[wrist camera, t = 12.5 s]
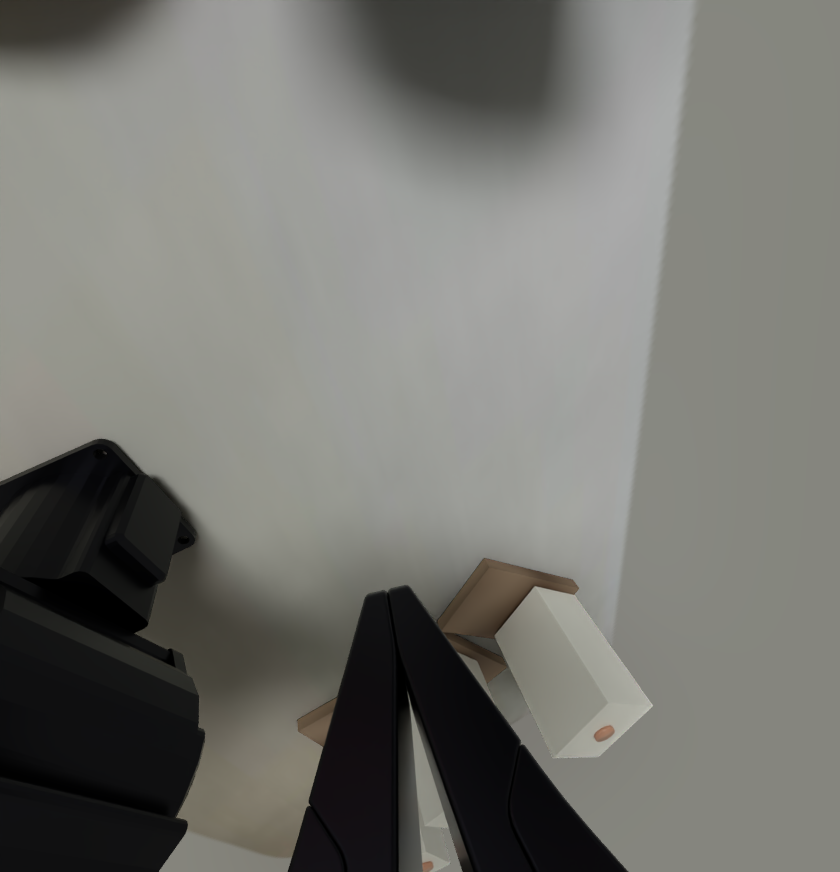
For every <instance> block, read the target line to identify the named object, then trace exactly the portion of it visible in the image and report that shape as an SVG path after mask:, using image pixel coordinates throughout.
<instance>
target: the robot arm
mask: <svg viewBox="0 0 840 872" xmlns="http://www.w3.org/2000/svg"><path fill="white" fill-rule="evenodd" d="M96 449H102V450H104V451H106V452H107V454H100V453H98V452H97V451H96ZM181 514H182V512H181V511H180V510H179V508H178V507H177V506H176V505H175V504H174V503H173V502H172V501H171V500H170V499H169V498H168V497H167V496H166V494H165V493H164V492H163V491H162V490H161V489H160V488H159V487H158V486H157V485H156V484H155V483H154V481H153V480H152V479H151V478H150V477H149V476H148V475H145V474H143V473H141V472H140V471H139V470H138V469H137V468H136V467H135V466H134V464H133V463H132V462H131V461H130V460H129V459H128V458H127V457H126V456H125V455H124V454H123V453H122V452H121V451H120V449H119V448H118V447H117V446H116V445H115V444H114V443H112V442H111V441H109V440H106V439H97V440H93V441H91V442H89V443H87V444H84V445H82V446H80V447H78V448H75V449H73V450H71V451H69V452H66V453H64V454H62V455H60V456H57V457H55V458H53V459H51V460H48V461H46V462H44V463H42V464H39V465H37V466H35V467H33V468H30V469H28V470H26V471H24V472H21V473H19V474H17V475H15V476H12V477H10V478H8V479H6V480H3V481H1V482H0V872H159V870H160V869H161V867H162V866H163V864H164V863H165V862H166V860H167V859H168V857H169V856H170V855H171V853H172V852H173V851H174V849H175V848H176V846H177V845H178V844H179V842H180V841H181V839H182V838H183V836H184V835H185V833H186V831H187V826H188V823H187V821H186V820H184V819H179V818H176V816H177V815H178V813H179V811H180V809H181V807H182V805H183V803H184V801H185V799H186V797H187V795H188V792H189V790H190V787H191V785H192V782H193V780H194V777H195V774H196V771H197V769H198V766H199V763H200V759H201V755H202V751H203V747H204V743H205V732H204V729H201V728H199V727H198V724H199V695H198V692H197V690H196V687H195V684H194V682H193V679H192V678H191V677H190V676H188V675H187V672H186V667H185V663H184V658H183V655H182V654H181V653H179V652H177V651H175V650H173V649H168V650H166V649H164V648H162V647H160V646H158V645H156V644H154V643H152V642H150V641H148V640H146V639H144V638H142V637H140V636H138V635H136V634H134V633H135V632H138V631H140V630H142V629H144V628H145V627H147V626H148V622H149V618H150V614H151V610H152V606H153V602H154V598H155V595H156V591H157V587H158V584H160V583H162V582H164V581H165V579H166V577H167V573H168V569H169V565H170V560H171V556H172V555H173V554H175V553H177V552H179V551H182V550H184V549H186V548H188V547H190V546H192V545H193V544H194V542H195V539H196V532H195V530H194V529H193V528H192V527H191V526H190V525H189V524H188V522H187V521H186V520H185V519H184V518H183V517H182V516H181ZM181 536H187V537H188V538H181ZM408 695H409V697H408ZM409 699H410V703H411V707H412V711H413V714H414V718H415V721H416V724H417V728H418V731H419V734H420V737H421V740H422V744H423V747H424V750H425V753H426V756H427V760H428V763H429V766H430V769H431V772H432V776H433V779H434V782H435V785H436V788H437V792H438V795H439V798H440V801H441V804H442V808H443V811H444V814H445V817H446V820H447V824H448V827H449V830H450V833H451V836H452V840H453V843H454V846H455V849H456V853H457V855H458V859H459V862H460V865H461V869H462V871H463V872H628V871H627V870H626V869H625V868H624V866H623V865H622V864H621V863H620V862H619V861H618V860H617V859H616V857H615V856H614V855H613V854H612V853H611V852H610V851H609V850H608V849H607V847H606V846H605V845H604V844H603V843H602V842H601V841H600V840H599V838H598V837H597V836H596V835H595V834H594V833H593V832H592V830H591V829H590V828H589V827H588V826H587V825H586V823H585V822H584V821H583V820H582V819H581V818H580V816H579V815H578V814H577V813H576V812H575V810H574V809H573V808H572V807H571V806H570V804H569V803H568V802H567V801H566V800H565V798H564V797H563V796H562V795H561V793H560V792H559V791H558V789H557V788H556V787H555V786H554V784H553V783H552V781H551V780H550V779H549V778H548V776H547V775H546V774H545V772H544V771H543V770H542V768H541V767H540V766H539V764H538V763H537V762H536V760H535V759H534V758H533V756H532V755H531V753H530V752H529V751H528V749H527V748H526V747H525V745H521V740H520V739H519V737H518V736H517V734H516V733H515V732H514V730H513V729H512V728H511V726H510V725H509V723H508V722H507V721H506V719H505V718H504V716H503V715H502V714H501V712H500V711H499V709H498V708H497V707H496V705H495V704H494V703H493V701H492V700H491V698H490V697H489V696H488V694H487V693H486V691H485V690H484V689H483V687H482V686H481V685H480V683H479V682H478V680H477V679H476V678H475V676H474V675H473V673H472V672H471V671H470V669H469V668H468V667H467V665H466V664H465V662H464V661H463V660H462V658H461V657H460V655H459V654H458V653H457V651H456V650H455V648H454V647H453V646H452V644H451V643H450V642H449V640H448V639H447V637H446V636H445V635H444V633H443V632H442V630H441V629H440V628H439V626H438V625H437V624H436V622H435V621H434V619H433V618H432V617H431V615H430V614H429V612H428V611H427V610H426V608H425V607H424V606H423V604H422V603H421V601H420V600H419V599H418V597H417V596H416V594H415V593H414V592H413V590H412V589H411V588H410V587H409V586H408V585H403V586H399V587H395V588H391V589H389V591H388V593H387V591H385V590H382V591H378V592H374V593H370V594H368V595H366V597H365V599H364V602H363V606H362V610H361V613H360V617H359V620H358V624H357V628H356V631H355V635H354V639H353V642H352V646H351V649H350V653H349V657H348V660H347V664H346V667H345V671H344V675H343V678H342V682H341V685H340V689H339V693H338V696H337V700H336V704H335V707H334V711H333V714H332V718H331V722H330V725H329V729H328V732H327V736H326V740H325V743H324V747H323V750H322V754H321V758H320V761H319V765H318V769H317V772H316V776H315V779H314V783H313V787H312V790H311V794H310V797H309V804H310V805H311V806H308V807H307V808H306V811H305V815H304V818H303V822H302V825H301V829H300V833H299V836H298V840H297V843H296V846H295V850H294V853H293V856H292V859H291V863H290V866H289V869H288V872H423V865H422V852H421V839H420V826H419V813H418V800H417V787H416V774H415V761H414V748H413V734H412V721H411V711H410V703H409Z"/></svg>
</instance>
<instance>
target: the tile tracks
mask: <svg viewBox="0 0 840 872" xmlns="http://www.w3.org/2000/svg"><path fill="white" fill-rule="evenodd" d="M535 586H536V587H541V588H545V589H549V590H554V591H558V592H563V593H567V594H572V595H574V594H575V593H576V592H577V591H578V589H579V587H578V586H577V585H576V583H575V582H574V581H573V580H571V579H567V578H563V577H559V576H555V575H551V574H547V573H543V572H539V571H535V570H531V569H526V568H522V567H518V566H514V565H510V564H506V563H502V562H498V561H494V560H490V559H486V558H484V559H483V560H482V562H481V563H480V564H479V566H478V567H477V569H476V570H475V571H474V573H473V574H472V575H471V577H470V578H469V579H468V581H467V582H466V583H465V585H464V586H463V587H462V589H461V590H460V591H459V593H458V594H457V595H456V597H455V598H454V600H453V601H452V602H451V604H450V605H449V606H448V608H447V609H446V610H445V612H444V613H443V614H442V616H441V617H440V618H439V620H438V621H437V623H438V625H439V628H440V629H441V630H442V632H443V633H444V635H445V636H446V637H447V639H448V640H449V642H450V643H451V644H452V646H453V647H454V648H455V650H456V651H457V652H458V653H460V654H463V655H465V656H467V657H469V658H471V659H473V660H476V661H477V662H478V664H479V667H480V669H481V671H482V674H483V676H484V679H485V681H486V683H488V682H489V681H491V680H492V679H493V678H494V677H496V676H497V675H498V674H499V673H501V672H502V671H503V670H504V669H506V668H507V666H506V663H505V661H504V659H503V658H502V657H500V656H498V655H496V654H494V653H492V652H490V651H488V650H486V649H484V648H482V647H480V646H478V645H476V644H474V643H472V642H470V641H468V640H466V639H464V638H462V637H460V636H458V635H456V634H462V635H470V636H477V637H484V638H491V639H495V634H496V633H497V632H498V631H499V630H500V628H501V627H502V626H503V625H504V623H505V622H506V621H507V620H508V619H509V617H510V616H511V615H512V614H513V612H514V611H515V610H516V609H517V607H518V606H519V605H520V604H521V603H522V601H523V600H524V599H525V598H526V596H527V595H528V594H529V593H530V592H531V590H532V589H533V588H534V587H535ZM454 633H455V634H454ZM336 700H337V698H335V699H333V700H331V701H330V702H328V703H326V704H324V705H323V706H321V707H319V708H317V709H316V710H314V711H312V712H310V713H308V714H307V715H305V716H303V717H301V718H300V719H298V720H297V721H298V732H300V733H302V734H303V735H305V736H307V737H308V738H310V739H311V740H313V741H315V742H316V743H318V744H320V745H321V746H323V747H324V743H325V740H326V736H327V732H328V729H329V725H330V722H331V718H332V714H333V711H334V707H335V704H336Z"/></svg>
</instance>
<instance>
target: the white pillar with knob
mask: <svg viewBox="0 0 840 872" xmlns="http://www.w3.org/2000/svg"><path fill="white" fill-rule="evenodd" d="M495 639H496V641H497V643H498V645H499V647H500V649H501V651H502V653H503V655H504V657H505V659H506V661H507V664H508V666H509V668H510V670H511V672H512V674H513V676H514V678H515V680H516V682H517V684H518V687H519V689H520V691H521V693H522V695H523V697H524V699H525V701H526V703H527V705H528V707H529V709H530V712H531V714H532V716H533V718H534V719H535V722H536V724H537V726H538V728H539V730H540V732H541V734H542V736H543V739H544V741H545V743H546V745H547V747H548V749H549V751H550V753H551V755H552V757H553V758H577V757H578V758H580V757H599V756H600V755H601V754H602V753H603V752H604V751H606V750H607V749H608V748H609V747H610V746H611V745H612V744H613V743H614V742H615V741H616V740H617V739H618V738H619V737H620V736H622V735H623V734H624V733H625V732H626V731H627V730H628V729H629V728H630V727H631V726H632V725H633V724H634V723H635V722H636V721H637V720H639V718H641V717H642V716H643V715H644V714H645V713H646V712H647V711H648V710H649V709H650V708H651V707H652V706H653V705H652V704H651V702H650V701H649V700H648V698H647V697H646V695H645V694H644V692H643V691H642V689H641V688H640V687H639V685H638V684H637V682H636V681H635V680H634V678H633V677H632V675H631V674H630V673H629V671H628V670H627V668H626V667H625V666H624V664H623V663H622V661H621V660H620V658H619V657H618V656H617V654H616V653H615V651H614V650H613V649H612V647H611V646H610V644H609V643H608V641H607V640H606V639H605V637H604V636H603V634H602V633H601V632H600V630H599V629H598V627H597V626H596V625H595V623H594V622H593V620H592V619H591V617H590V616H589V615H588V613H587V612H586V610H585V609H584V608H583V606H582V605H581V603H580V602H579V601H578V599H577V598H576V596H575V595H572V594H567V593H563V592H558V591H554V590H549V589H545V588H541V587H536V586H535V587H534V588H533V589H532V590H531V592H530V593H529V594H528V595H527V596H526V598H525V599H524V600H523V601H522V603H521V604H520V605H519V606H518V607H517V609H516V610H515V611H514V612H513V614H512V615H511V616H510V617H509V619H508V620H507V621H506V622H505V623H504V625H503V626H502V627H501V628H500V630H499V631H498V632H497V633H496V634H495Z"/></svg>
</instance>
